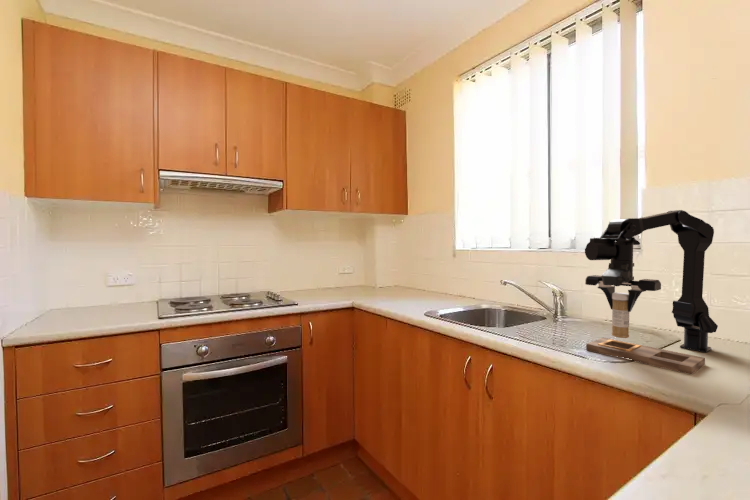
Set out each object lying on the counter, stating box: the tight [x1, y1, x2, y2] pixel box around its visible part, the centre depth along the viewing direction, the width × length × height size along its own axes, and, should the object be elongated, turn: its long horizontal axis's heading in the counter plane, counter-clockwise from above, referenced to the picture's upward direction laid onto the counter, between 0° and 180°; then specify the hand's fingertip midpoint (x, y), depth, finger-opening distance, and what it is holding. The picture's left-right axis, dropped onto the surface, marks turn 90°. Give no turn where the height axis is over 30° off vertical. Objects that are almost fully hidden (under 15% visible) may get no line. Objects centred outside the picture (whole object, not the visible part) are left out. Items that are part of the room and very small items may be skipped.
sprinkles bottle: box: [611, 291, 630, 339], centre depth 114 cm, size 5×5×14 cm
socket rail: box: [585, 337, 706, 375], centre depth 110 cm, size 12×26×2 cm, turn 36°
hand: (620, 310), depth 114 cm, fingers closed on sprinkles bottle, 4 cm apart
